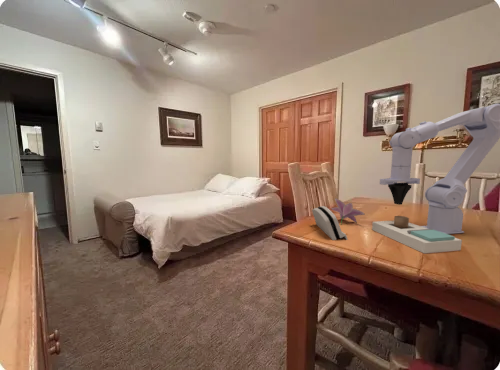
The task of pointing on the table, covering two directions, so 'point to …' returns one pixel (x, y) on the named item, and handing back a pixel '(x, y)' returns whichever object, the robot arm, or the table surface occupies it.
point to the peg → (401, 222)
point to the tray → (415, 238)
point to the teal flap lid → (431, 235)
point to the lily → (346, 210)
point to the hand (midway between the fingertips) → (398, 204)
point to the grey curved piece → (328, 222)
